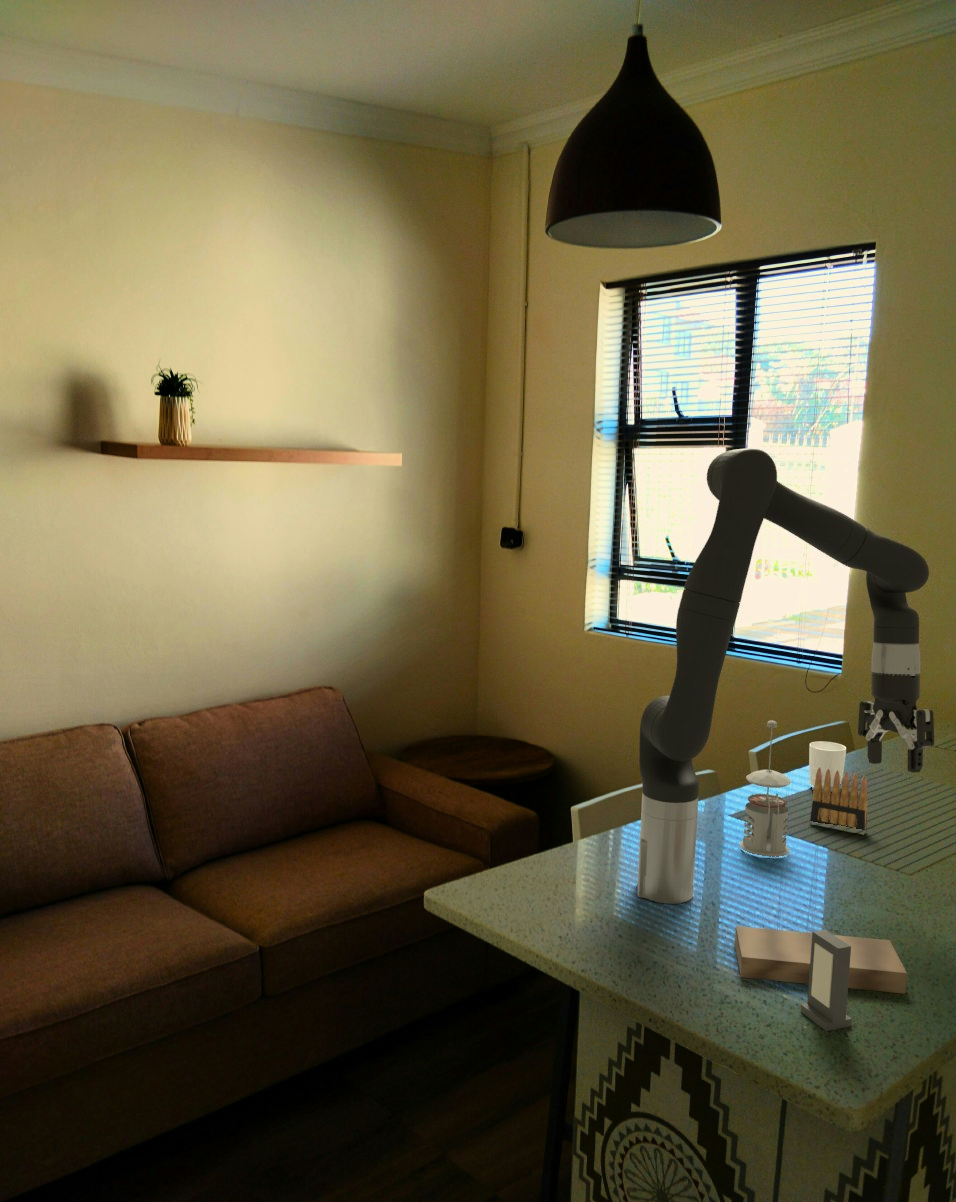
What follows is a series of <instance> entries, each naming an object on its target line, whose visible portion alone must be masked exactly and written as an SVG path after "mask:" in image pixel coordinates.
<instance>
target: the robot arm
mask: <svg viewBox="0 0 956 1202" xmlns="http://www.w3.org/2000/svg"><path fill="white" fill-rule="evenodd" d="M777 471H778V470H777V467H776V463H775V461H774V459H773V458H772V457H771V456H770V455H769V454H768V453H767V452H766V451H764V450H762V449H759V448H753V447H750V448H739V449H737V448H736V449H732V450H730V449H729V450H728V451H725V452H722V453H720V454H718V455H717V456H716V457H715V458H714V459H712V461H711V462H710V464H709V466H708V468H707V473H706V482H707V487H708V488H709V491H710V492H711V495H712V496H714V497H715V498H716V499H717V501H718V505H717V508H716V509H717V511H716V515H715V518H714V524H713V525H712V530H711V532H710V535H709V537H708V539H707V541H706V542H705V544H704V546H703V547H702V549H701V551H700V553H699V555H698V556H697V558H696V559H695V562H694V564H693V565H692V567H691V568H690V571H689V573H688V576H687V578H686V580H685V583H684V586H683V588H684V589H683V590H682V594H681V598H680V602H679V607H678V609H677V613H676V615H677V616H676V621H675V624H676V625H675V631H676V632H675V634H676V635H675V636H676V637H675V638H676V639H675V641H676V669H675V676H674V679H673V684H672V687H671V690H670V694H669V695H661V696H658V697H656V698H655V699H653V700H651V701H650V702H649V703H648V705H646V707H645V709H644V711H643V713H642V716H641V718H640V719H641V720H640V725H639V726H640V727H639V751H638V753H639V755H638V756H639V763H638V765H639V773H640V778H641V783H642V786H641V788H642V789H641V793H642V794H641V815H640V816H641V817H640V829H639V830H640V831H639V846H638V847H639V850H638V865H637V866H638V867H637V868H638V870H637V891H636V892H637V897H638V898H642V899H643V898H644V899H647V900H649V901H653V902H656V903H660V904H671V905H674V904H681V903H685V902H689V901H690V900H691V899H692V898H693V896H694V887H695V866H696V852H697V851H696V848H697V847H696V845H697V828H698V812H699V809H698V808H699V795H700V793H699V792H700V783H699V779H698V776H697V775H696V772H695V769H694V765H693V759H695V757H697V756H698V755H700V753H701V752H702V751H703V749H704V748H705V747H706V745H707V743H708V740H709V738H710V731H711V727H712V723H713V721H712V720H713V714H714V708H715V704H716V703H715V702H716V697H717V696H716V695H717V689H718V684H719V681H720V680H719V679H720V677H721V673H722V669H723V666H724V662H725V660H726V659H725V658H726V655H727V651H728V647H729V644H730V640H731V637H732V636H731V635H732V632H733V630H734V627H735V624H736V619H737V617H738V613H739V609H740V605H741V601H742V597H743V593H744V587H745V585H746V581H747V577H748V573H749V570H750V565H751V561H752V557H753V552H754V548H755V544H756V541H757V538H758V535H759V532H760V529H761V527H762V524H763V522H764V520H767V521H768V522H770V523H772V524H775V525H776V526H778V527H780V528H782V529H784V530H785V531H787V532H789V533H790V534H792V535H794V536H796V537H797V538H798V539H800V540H802V541H803V542H805V543H807V544H808V545H810V546H812V547H814V548H815V549H817V550H818V551H820V552H822V553H823V554H825V555H827V556H828V557H830V559H833V560H835V561H837V563H840V564H842V565H844V566H846V567H848V568H851V569H854V570H861V571H864V572H865V574H866V576H865V577H866V578H865V581H866V582H865V583H866V590H867V593H868V599H869V602H870V603H869V604H870V607H871V611H872V614H873V645H872V651H871V670H870V671H871V673H870V674H871V677H870V680H871V681H870V684H871V685H870V690H871V691H870V695H871V697H872V698H873V699H874V700H865V701H864V700H862V701H860V702H859V706H858V708H859V710H858V723H857V724H858V725H857V726H858V728H857V734H858V735H859V736H860V737H864V739H865V740H866V741H867V759H868V763H869V764H873V765H875V764H878V765H879V764H881V763H882V760H883V759H882V756H883V755H882V753H883V752H882V751H883V741H881V740H882V739H883V737H884V736H885V734H886V733H888V732H889V731H892V733H893V732H894V733H897V734H899V735H900V737H901V738H902V739H904V740H905V744H907V746H908V748H909V749H907V772H909V773H920V772H921V770H922V768H923V766H924V765H923V764H924V763H923V762H924V761H923V760H924V757H923V756H924V754H923V752H924V749H925V748H929V747H931V748H932V747H934V745H935V727H934V726H935V723H934V720H935V719H934V711H933V709H930V708H929V709H928V708H927V709H926V708H925V709H924V708H923V709H918V706H917V701H918V700H919V699H920V698H921V651H920V617H919V613H918V612H917V610H915V609H913V608H911V607H910V606H909V604H908V600H907V595H906V594H907V593H912V592H913V593H914V592H915V591H919V590H920V589H922V588H923V587H924V586H925V585H926V584H927V581H928V579H929V575H930V569H929V565H928V562H927V561H926V559H925V558H924V557H923V556H922V555H921V554H920V553H919V552H918V551H916V550H915V549H913V548H912V547H910V546H908V545H905V544H903V543H901V542H898V541H896V540H894V539H891V538H889V537H886V536H885V535H880V534H878V533H876V532H873V531H872V530H870V528H867V527H866V525H865V526H864V525H863V524H862V523H859V522H858V521H856V520H855V519H853V518H852V517H850V516H848V515H846V514H844V513H843V512H841V511H839V510H837V509H835V508H832V507H830V506H828V505H825V504H823V503H820V502H818V501H816V500H814V499H812V498H809V497H807V496H804V495H802V494H801V493H799V492H796V491H794V490H793V489H791V488H789V487H787V486H786V485H784V484H783V483H781V482H780V481H778V472H777Z"/></svg>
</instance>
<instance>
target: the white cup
mask: <svg viewBox="0 0 956 1202" xmlns="http://www.w3.org/2000/svg"><path fill="white" fill-rule="evenodd" d="M808 748H809V751H808V752H809V757H808V758H809V760H808V765H809V767H808V772H809V774H808V775H809V785H810V784H811V785H813V786H814V785H815V779H816V773H817V770H818V768H819V767H820V769H821V773H822V787H824V781H825V775H826V771H827V770H828V769H829V770H830V775H831V787H833V784H834V777H835V773H836V771H837V770H838V771H839V775H840V784H841V785H842V783H843V778H844V773H845V772H844V770H845V763H846V755H847V747H846V746H845V745H843V744H841V743H838V742H832V741H821V740H820V741H812V742H809V747H808Z"/></svg>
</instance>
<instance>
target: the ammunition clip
mask: <svg viewBox="0 0 956 1202" xmlns="http://www.w3.org/2000/svg"><path fill="white" fill-rule="evenodd" d="M858 778H859V777H858V775H857V773H854V774H853V776H852V780H851V787H850V777H849V774H848V772H847V771H845V772H844V774H843V778H842V784H841V790H840V775H839V771H838V770H837V771H836V773H835V777H834V784H833V789H832V793H831V775H830V770H829V769H828V770H827V771H826V775H825V781H824V787H823V792H822V773H821V769H820V767H819V768H818V770H817V773H816V779H815V785H814V790H813V793H812V801H811V802H812V803H811V811H810V819H809V822H810V821H813V822H818V823H825V824H833V825H841V826H846V825H847V826H846V827H850V828H853V827H856V829H862V830H865V827H866V828H867V825H868V823H867V821H868V820H867V817H868V816H867V813H868V781H867V780H868V779H867V776H866V775H865V774H864V775H863V776H862V779H861V783H860V788H859V780H858ZM849 790H850V791H849ZM859 790H860V791H859Z"/></svg>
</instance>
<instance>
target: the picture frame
mask: <svg viewBox="0 0 956 1202" xmlns="http://www.w3.org/2000/svg"><path fill="white" fill-rule="evenodd" d="M811 933H812V945H811V959H810V974H809V984H808V990H807V991H808V992H807V1001H806V1002H807V1003H806V1002H805V1003H803V1004H800V1013H802V1014H803V1015H804V1016H806V1017H807V1018H808V1019H810V1020H811V1021H812V1022H813V1023H815V1024H816V1025H817V1026H818V1027H820V1028H821V1029H822V1030H824V1031H825V1032H829V1031H834V1030H839V1029H843V1028H850V1027H852V1023H853V1018H851V1017H850V1016H849V1015H847V1006H848V995H849V992H848V991H849V988H848V982H849V969H850V955H851V946H850V945H848V944H847V943H845V942H844V941H842V940H840V939H839V938H837V937H836V936H834V935H835V934H833V933H831V932H830V931H828V930H826V929H820V930H814V931H812V932H811Z"/></svg>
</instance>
